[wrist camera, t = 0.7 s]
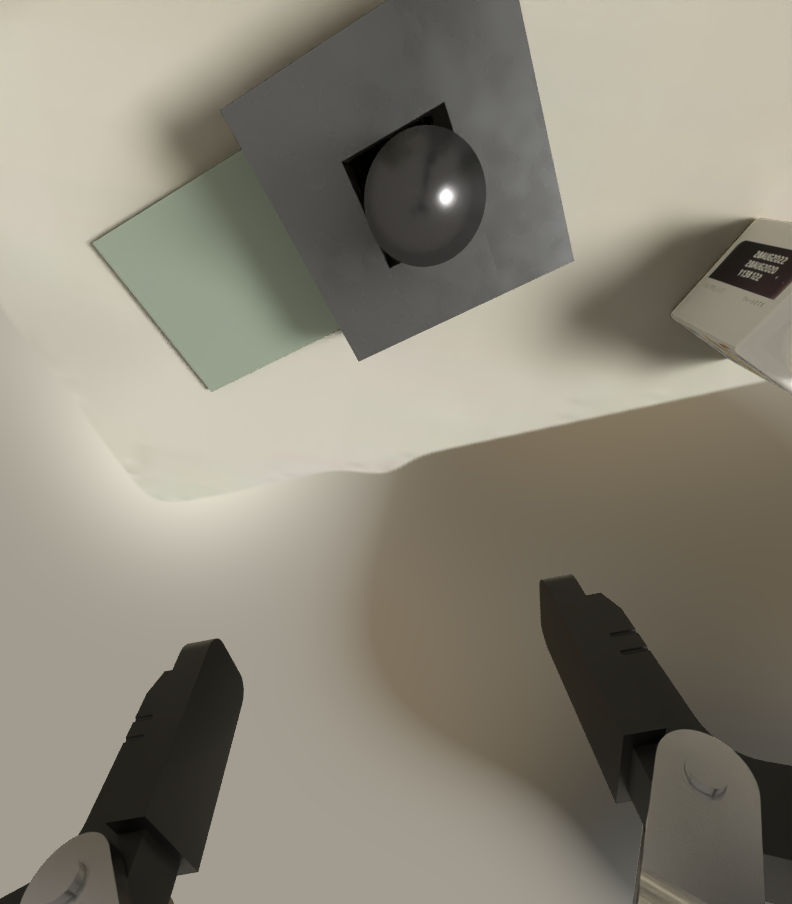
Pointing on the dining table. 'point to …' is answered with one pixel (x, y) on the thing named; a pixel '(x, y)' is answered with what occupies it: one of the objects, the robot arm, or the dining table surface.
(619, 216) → the dining table surface
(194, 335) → the mat
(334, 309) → the housing
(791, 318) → the container
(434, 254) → the silver metal cylinder
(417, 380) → the dining table surface
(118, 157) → the dining table surface
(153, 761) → the robot arm
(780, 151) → the dining table surface
